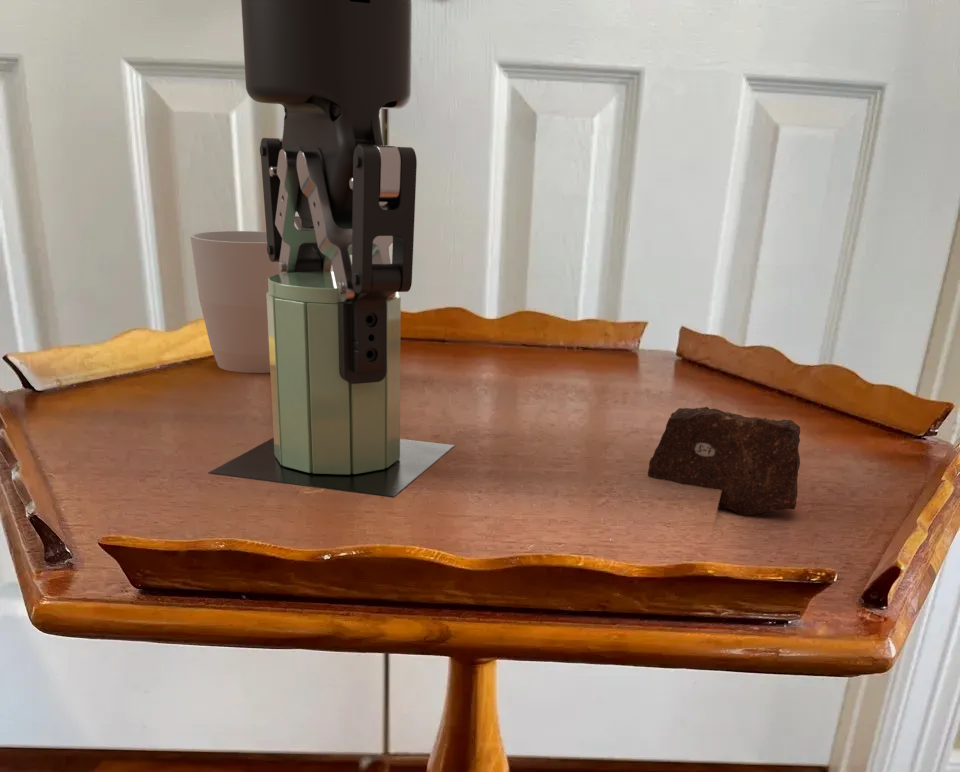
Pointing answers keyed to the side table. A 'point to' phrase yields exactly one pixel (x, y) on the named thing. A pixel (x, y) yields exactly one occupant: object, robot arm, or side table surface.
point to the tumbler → (327, 383)
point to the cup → (235, 296)
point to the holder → (380, 482)
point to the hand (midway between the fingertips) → (335, 365)
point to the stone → (731, 458)
